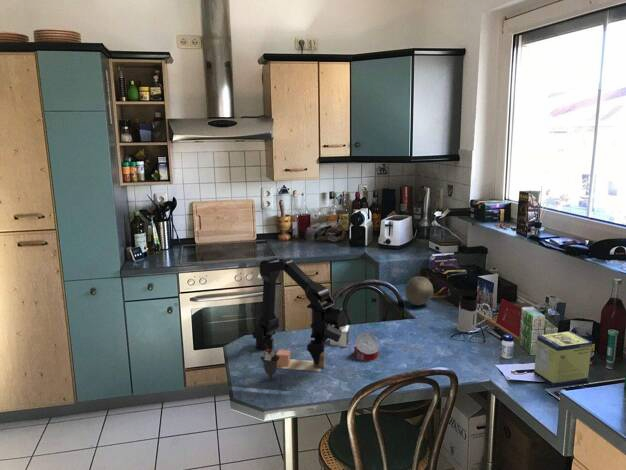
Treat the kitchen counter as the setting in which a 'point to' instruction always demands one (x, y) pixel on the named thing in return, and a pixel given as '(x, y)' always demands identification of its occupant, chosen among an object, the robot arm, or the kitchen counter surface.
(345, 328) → the medicine bottle
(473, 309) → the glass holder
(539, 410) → the kitchen counter surface
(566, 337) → the protein box
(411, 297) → the cantaloupe
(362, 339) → the canned food
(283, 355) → the block
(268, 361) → the sundae
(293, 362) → the strip
